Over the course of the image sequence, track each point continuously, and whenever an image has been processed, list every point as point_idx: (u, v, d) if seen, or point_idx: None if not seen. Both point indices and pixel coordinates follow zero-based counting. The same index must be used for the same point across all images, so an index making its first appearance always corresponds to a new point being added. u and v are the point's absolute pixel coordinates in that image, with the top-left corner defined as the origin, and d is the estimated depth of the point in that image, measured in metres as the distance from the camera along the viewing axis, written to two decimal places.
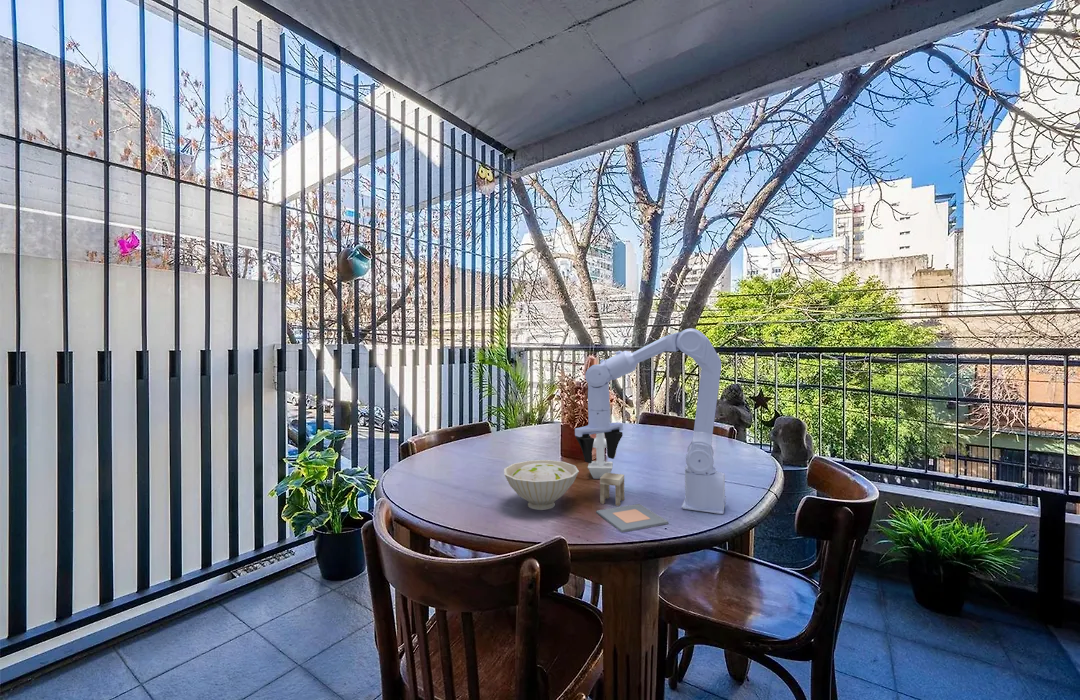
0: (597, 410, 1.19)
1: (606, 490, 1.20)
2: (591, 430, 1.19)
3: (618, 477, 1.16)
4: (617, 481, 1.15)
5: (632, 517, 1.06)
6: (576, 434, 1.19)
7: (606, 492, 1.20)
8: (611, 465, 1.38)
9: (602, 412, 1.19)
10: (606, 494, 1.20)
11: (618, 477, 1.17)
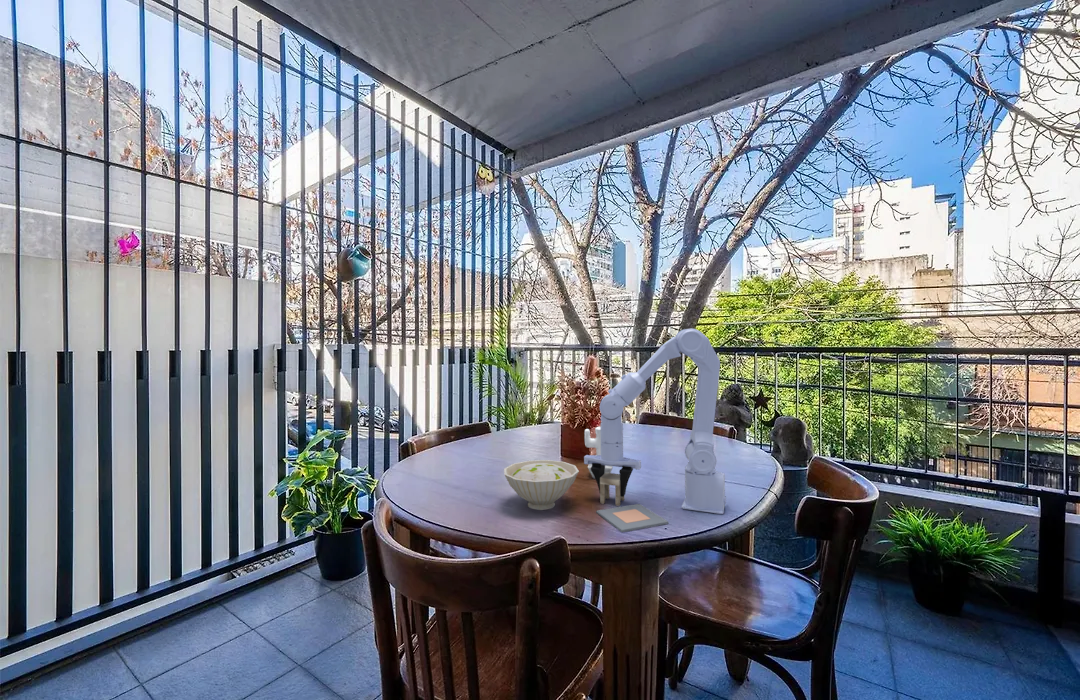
0: (601, 441, 1.17)
1: (606, 490, 1.20)
2: (595, 460, 1.18)
3: (618, 477, 1.16)
4: (617, 481, 1.15)
5: (632, 517, 1.06)
6: None
7: (606, 492, 1.20)
8: None
9: (605, 444, 1.16)
10: (606, 494, 1.20)
11: (618, 477, 1.17)
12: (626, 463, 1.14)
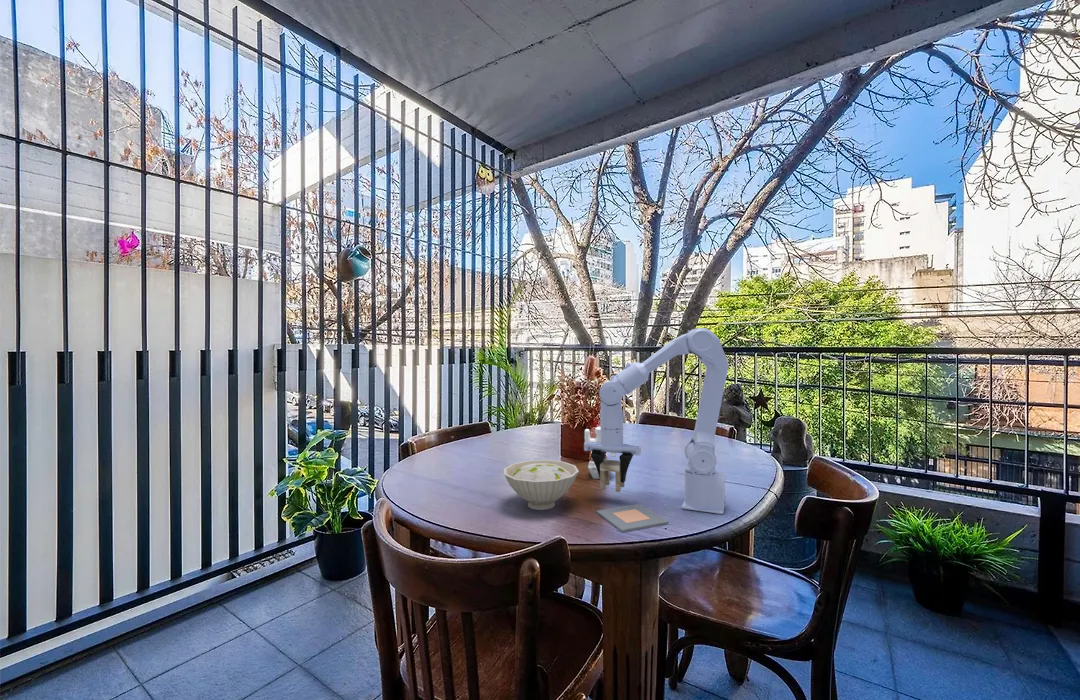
0: (601, 428, 1.17)
1: (606, 477, 1.20)
2: (595, 446, 1.18)
3: (618, 464, 1.16)
4: (617, 467, 1.15)
5: (632, 517, 1.06)
6: None
7: (606, 479, 1.20)
8: None
9: (605, 431, 1.15)
10: (606, 480, 1.20)
11: (618, 463, 1.17)
12: (626, 449, 1.14)
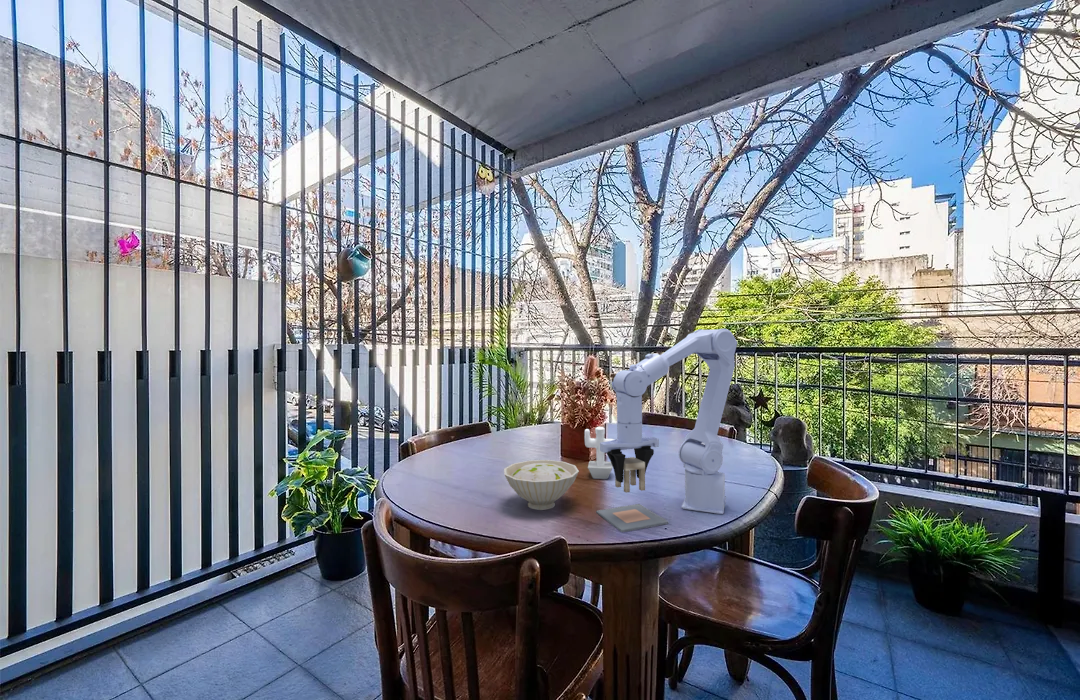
0: (626, 423, 1.04)
1: None
2: (618, 445, 1.04)
3: (638, 460, 1.07)
4: (643, 463, 1.05)
5: (632, 517, 1.06)
6: (601, 449, 1.05)
7: None
8: (611, 465, 1.38)
9: (632, 425, 1.04)
10: (619, 482, 1.08)
11: (637, 460, 1.07)
12: (649, 442, 1.07)
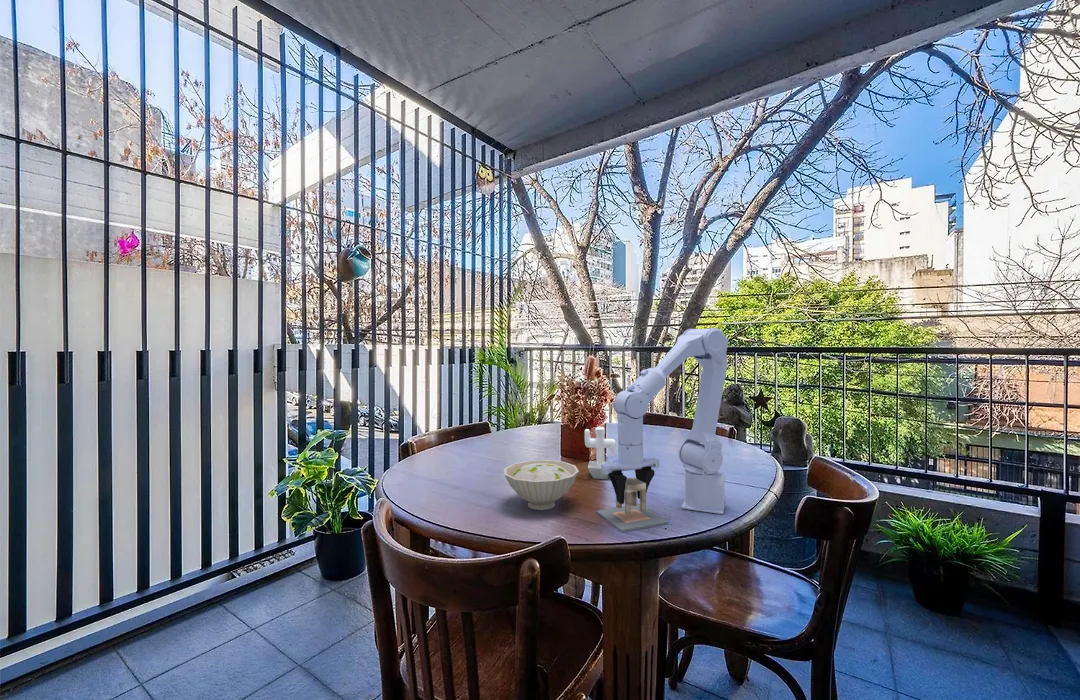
0: (627, 444, 1.04)
1: None
2: (619, 467, 1.04)
3: (639, 481, 1.07)
4: (644, 485, 1.05)
5: (632, 517, 1.06)
6: (602, 471, 1.04)
7: None
8: None
9: (633, 447, 1.04)
10: None
11: (638, 481, 1.07)
12: (650, 463, 1.06)
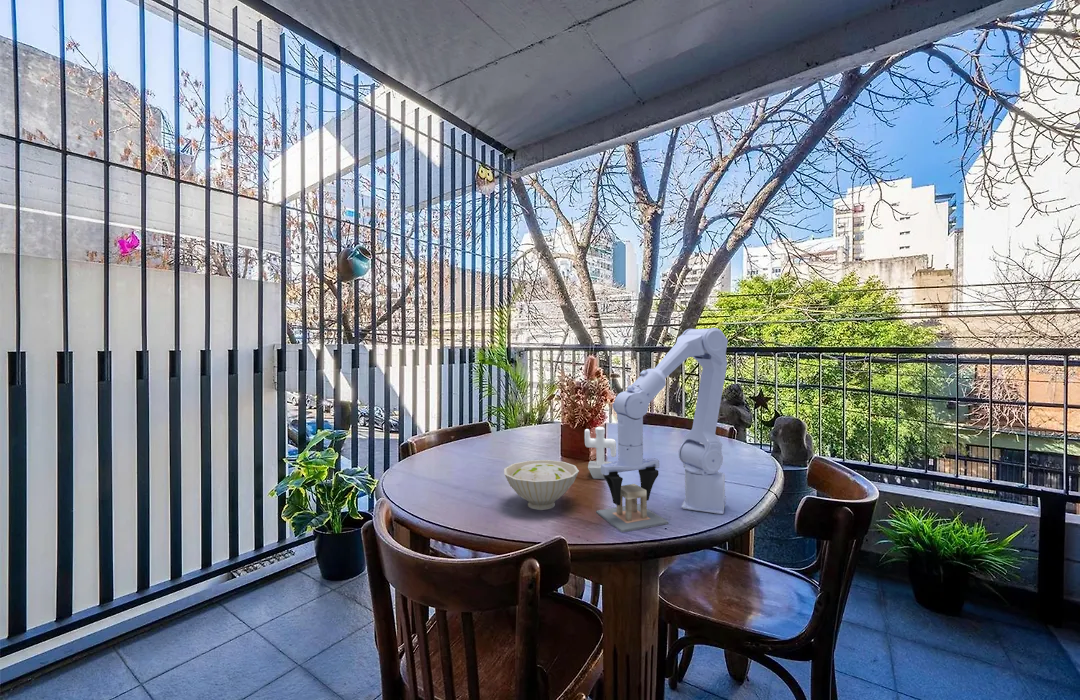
0: (627, 445, 1.04)
1: (620, 506, 1.07)
2: (619, 468, 1.04)
3: (639, 488, 1.07)
4: (644, 492, 1.05)
5: (632, 517, 1.06)
6: (602, 471, 1.04)
7: (620, 508, 1.07)
8: None
9: (633, 448, 1.04)
10: (620, 509, 1.08)
11: (639, 487, 1.07)
12: (650, 464, 1.06)
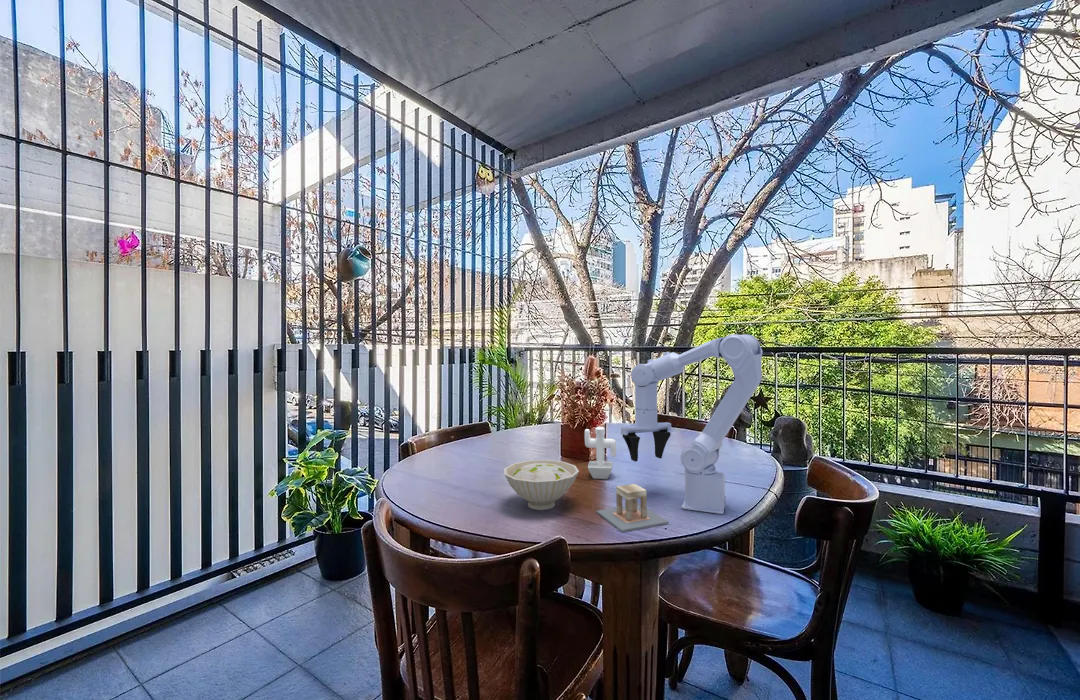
0: (643, 409, 1.20)
1: (620, 506, 1.07)
2: (637, 429, 1.20)
3: (639, 488, 1.07)
4: (644, 492, 1.05)
5: (632, 517, 1.06)
6: (622, 432, 1.21)
7: (620, 508, 1.07)
8: (611, 465, 1.38)
9: (648, 411, 1.20)
10: (620, 509, 1.08)
11: (639, 487, 1.07)
12: (663, 426, 1.23)
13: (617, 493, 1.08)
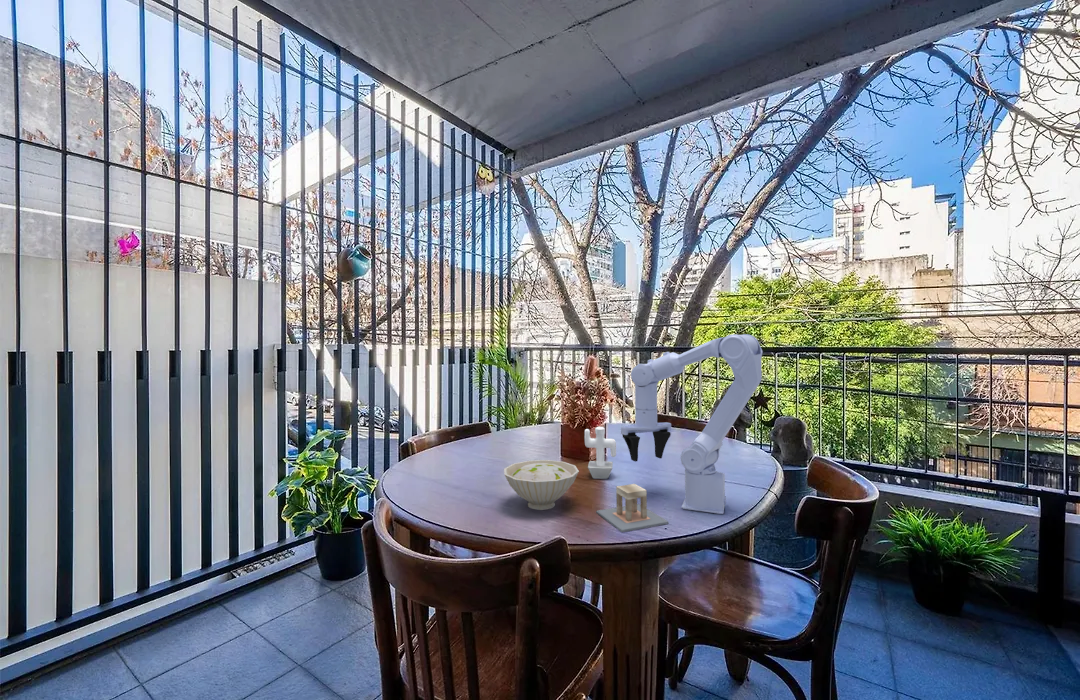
0: (643, 409, 1.20)
1: (620, 506, 1.07)
2: (637, 429, 1.20)
3: (639, 488, 1.07)
4: (644, 492, 1.05)
5: (632, 517, 1.06)
6: (622, 432, 1.21)
7: (620, 508, 1.07)
8: (611, 465, 1.38)
9: (648, 411, 1.20)
10: (620, 509, 1.08)
11: (639, 487, 1.07)
12: (663, 426, 1.23)
13: (617, 493, 1.08)
